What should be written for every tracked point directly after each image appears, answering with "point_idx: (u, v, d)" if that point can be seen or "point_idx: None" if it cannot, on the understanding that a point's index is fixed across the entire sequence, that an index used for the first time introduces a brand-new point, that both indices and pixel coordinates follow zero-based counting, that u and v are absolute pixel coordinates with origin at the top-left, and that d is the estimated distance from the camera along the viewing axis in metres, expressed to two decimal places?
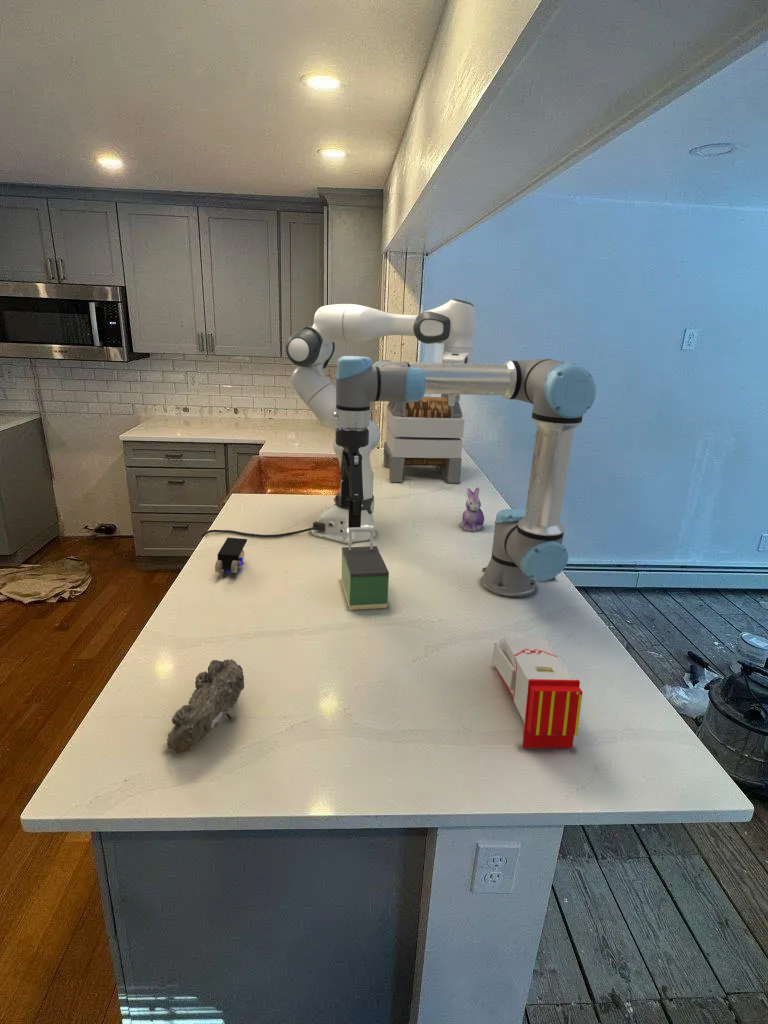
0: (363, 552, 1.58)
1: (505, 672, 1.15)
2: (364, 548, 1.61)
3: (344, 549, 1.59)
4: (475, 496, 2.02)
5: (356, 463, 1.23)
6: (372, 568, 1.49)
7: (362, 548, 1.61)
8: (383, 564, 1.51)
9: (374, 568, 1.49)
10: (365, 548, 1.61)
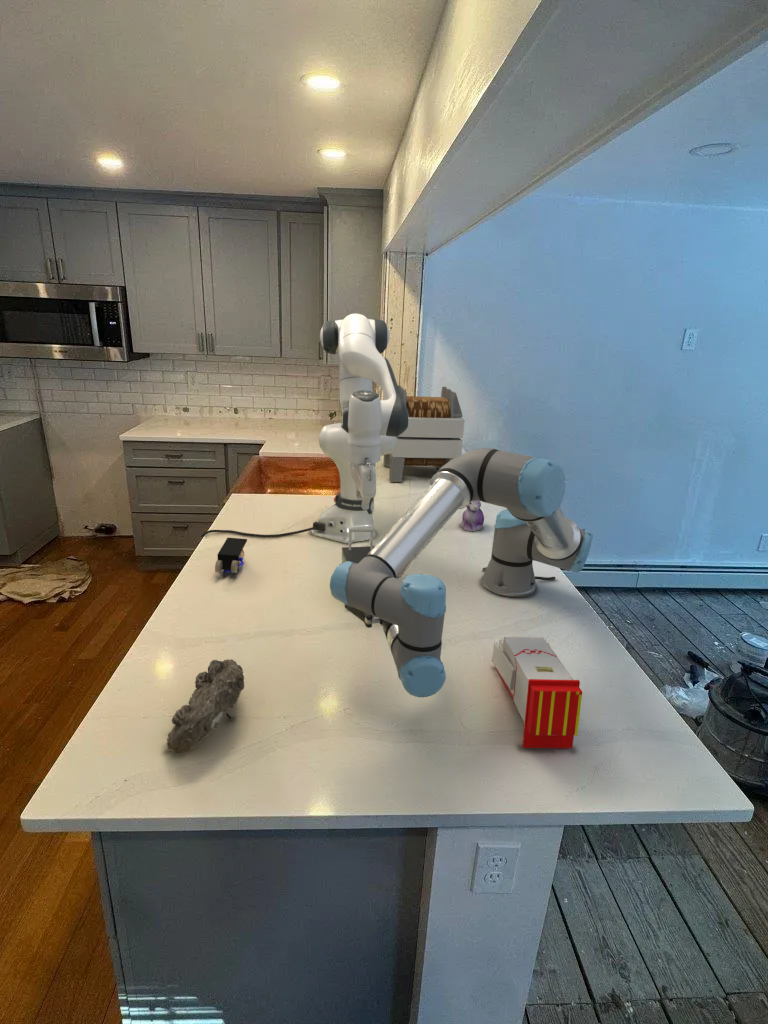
0: (363, 552, 1.58)
1: (505, 672, 1.15)
2: (364, 548, 1.61)
3: (344, 549, 1.59)
4: None
5: None
6: None
7: (362, 548, 1.61)
8: None
9: None
10: (365, 548, 1.61)
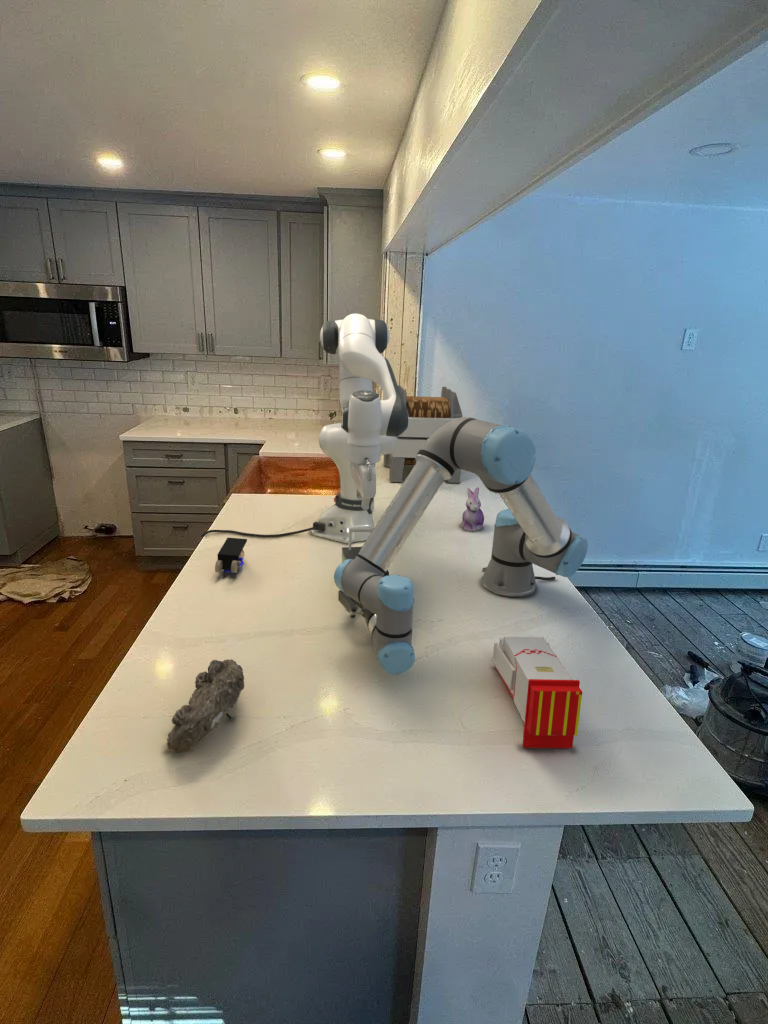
0: None
1: (505, 672, 1.15)
2: None
3: (344, 549, 1.59)
4: (475, 496, 2.02)
5: None
6: None
7: None
8: None
9: None
10: None
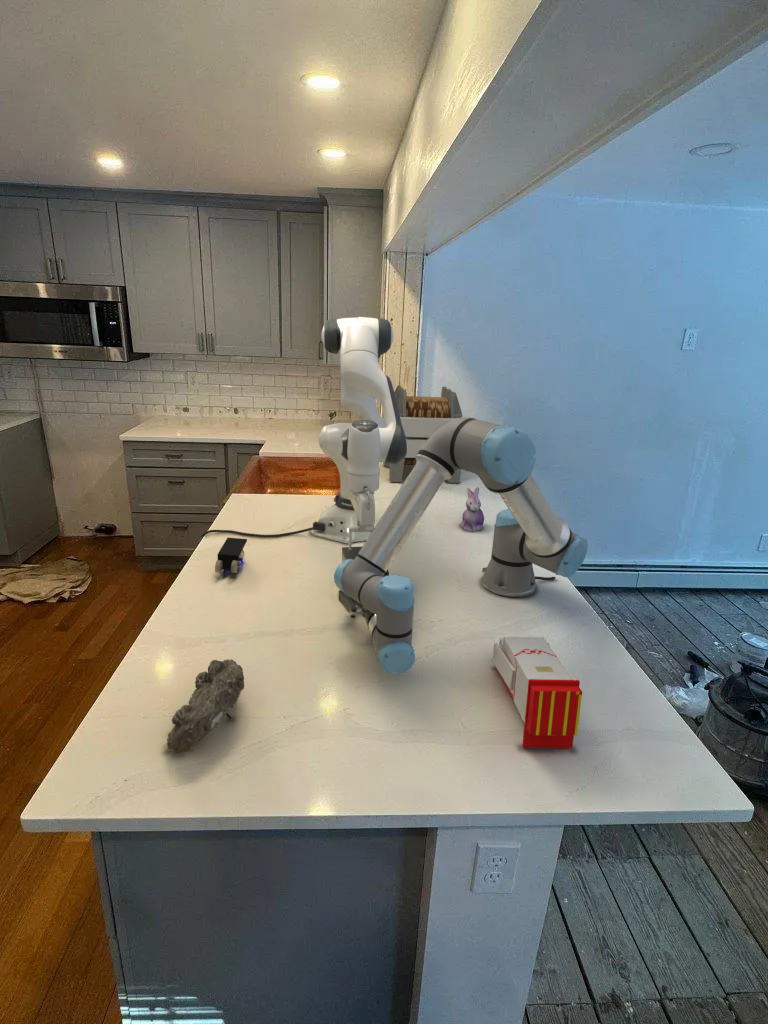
0: None
1: (505, 672, 1.15)
2: None
3: (344, 549, 1.59)
4: (475, 496, 2.02)
5: None
6: None
7: None
8: None
9: None
10: None
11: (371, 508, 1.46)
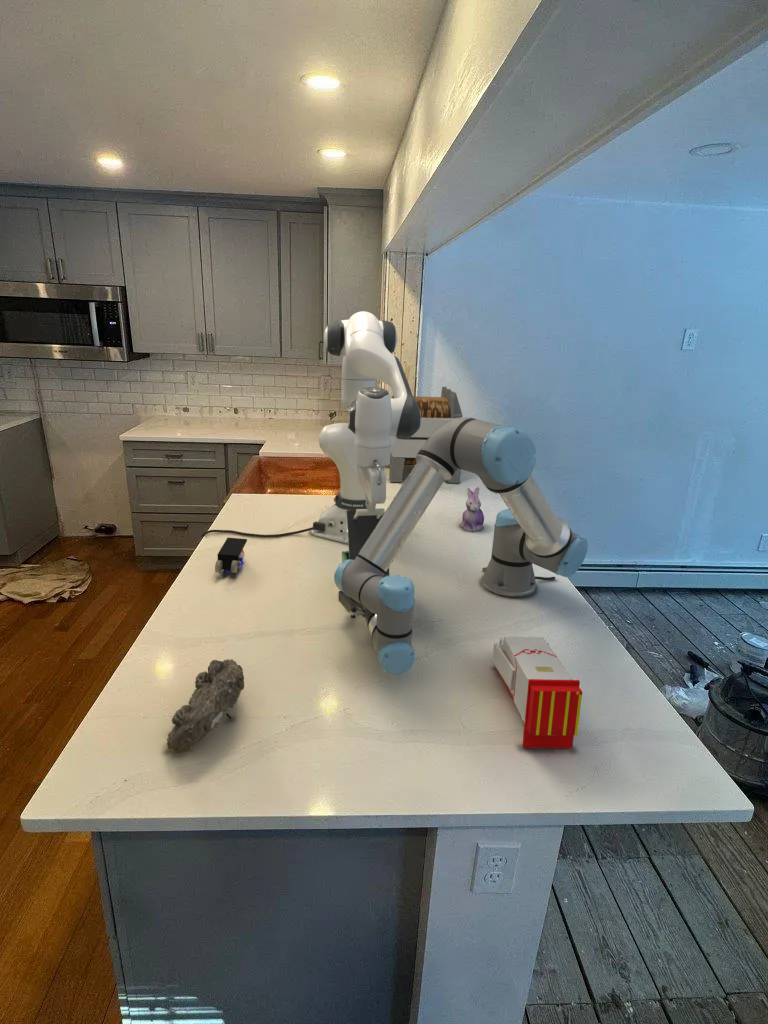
0: (368, 525, 1.49)
1: (505, 672, 1.15)
2: (370, 514, 1.49)
3: (348, 516, 1.48)
4: (475, 496, 2.02)
5: None
6: None
7: (368, 514, 1.49)
8: None
9: None
10: (371, 515, 1.49)
11: (382, 483, 1.31)
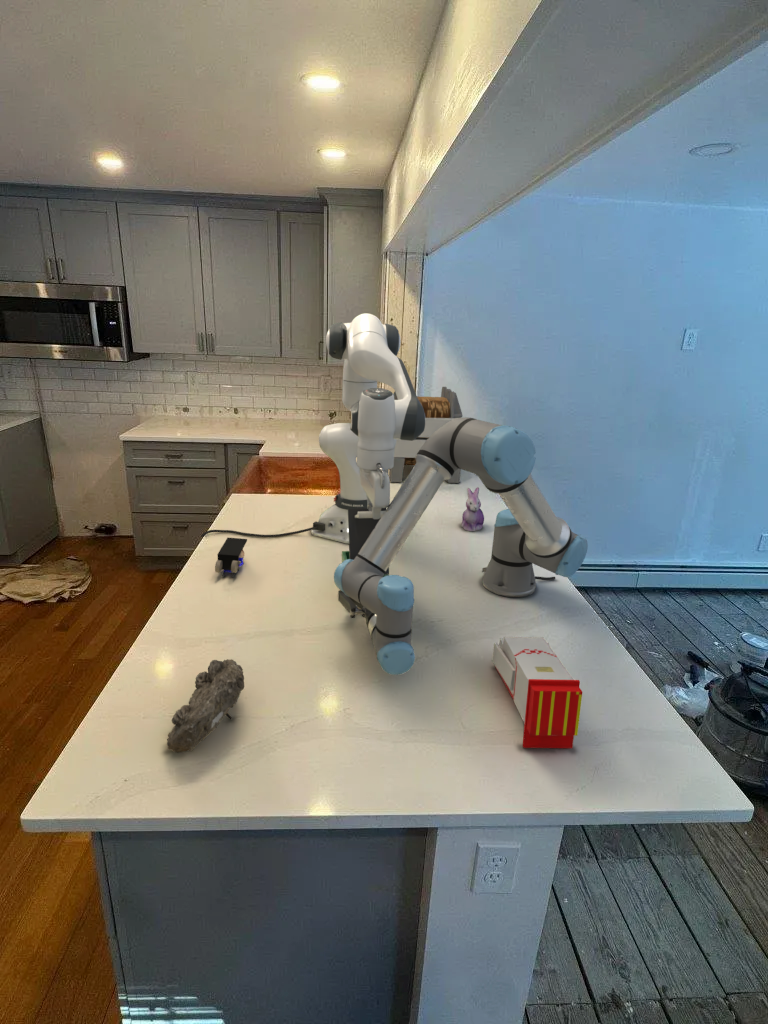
0: (369, 524, 1.47)
1: (505, 672, 1.15)
2: None
3: (350, 514, 1.46)
4: (475, 496, 2.02)
5: None
6: None
7: None
8: None
9: None
10: None
11: (386, 487, 1.27)
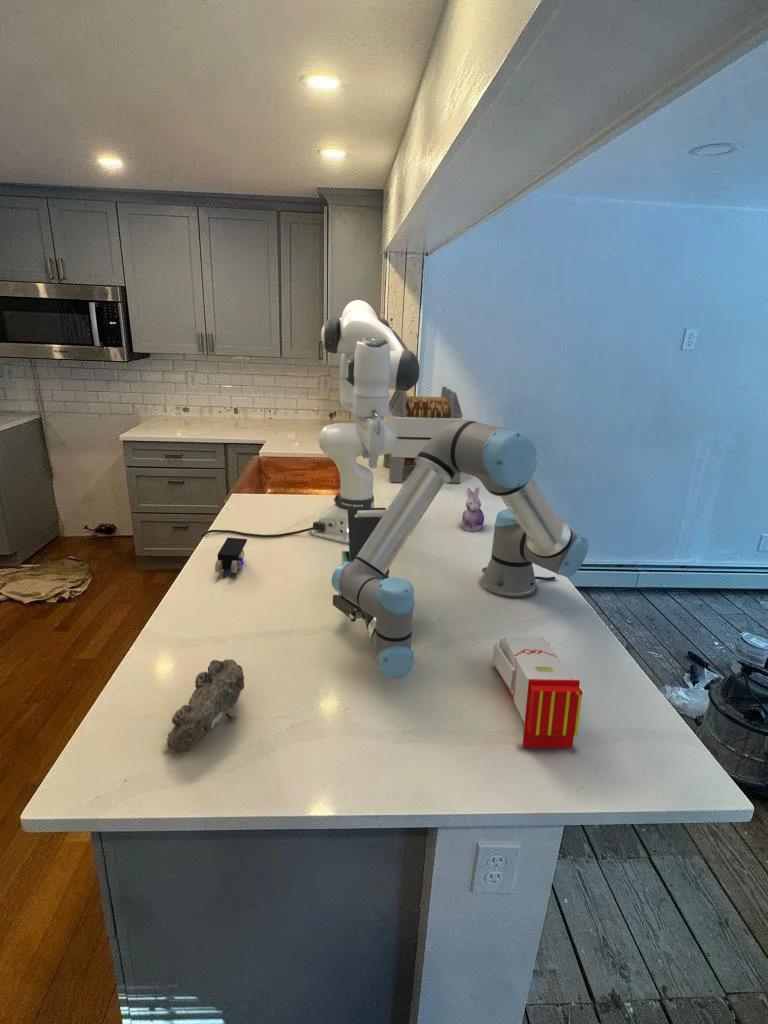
0: (369, 523, 1.47)
1: (505, 672, 1.15)
2: None
3: (349, 514, 1.47)
4: (475, 496, 2.02)
5: None
6: None
7: None
8: None
9: None
10: None
11: (381, 432, 1.31)
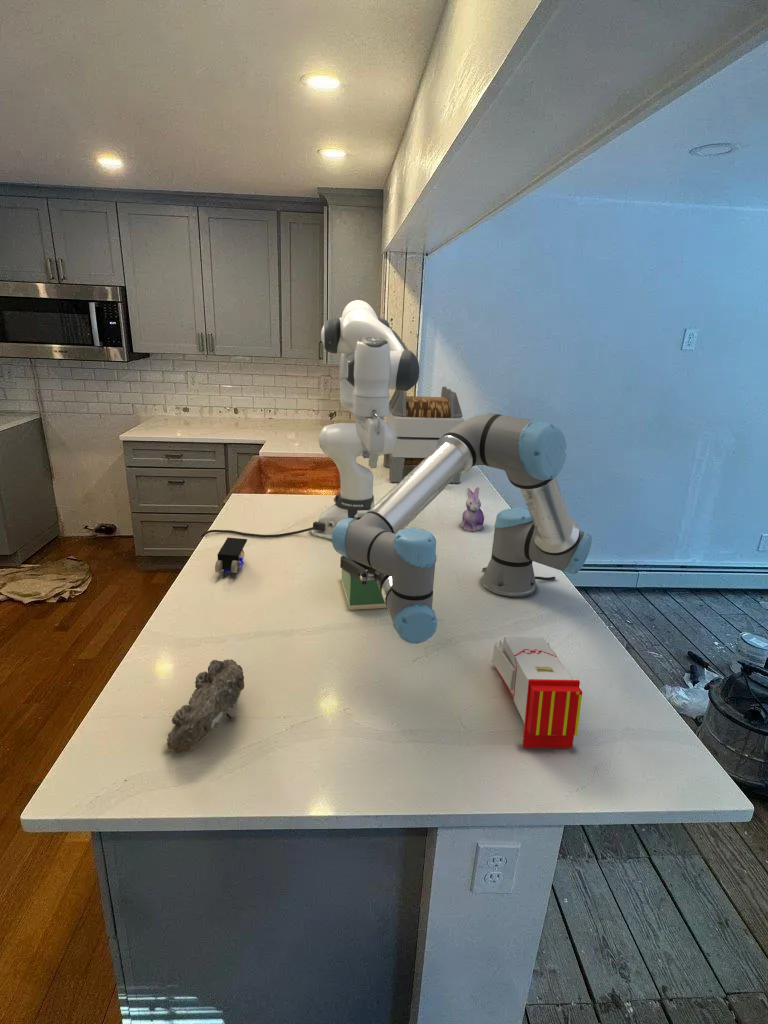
0: None
1: (505, 672, 1.15)
2: None
3: (349, 514, 1.47)
4: (475, 496, 2.02)
5: None
6: None
7: None
8: None
9: None
10: None
11: (381, 432, 1.31)
